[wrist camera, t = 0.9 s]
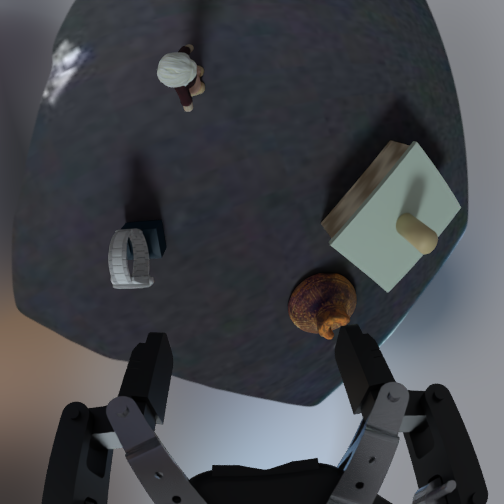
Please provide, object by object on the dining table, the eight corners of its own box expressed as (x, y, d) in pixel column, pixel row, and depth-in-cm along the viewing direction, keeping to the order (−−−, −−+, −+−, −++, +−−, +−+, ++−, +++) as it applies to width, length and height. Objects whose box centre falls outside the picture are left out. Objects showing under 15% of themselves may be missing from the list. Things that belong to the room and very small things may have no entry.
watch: (134, 261, 40) (109, 305, 30) (123, 211, 36) (90, 245, 26) (169, 259, 40) (151, 305, 30) (160, 207, 36) (135, 242, 27)
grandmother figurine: (172, 61, 27) (140, 37, 16) (202, 53, 27) (184, 22, 16) (185, 115, 31) (158, 115, 20) (215, 107, 31) (203, 102, 19)
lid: (413, 141, 28) (444, 149, 22) (457, 205, 32) (485, 222, 26) (328, 242, 33) (345, 268, 28) (385, 289, 37) (404, 316, 32)
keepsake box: (390, 140, 33) (413, 146, 28) (432, 193, 37) (454, 205, 32) (320, 223, 39) (333, 241, 33) (370, 265, 42) (386, 285, 37)
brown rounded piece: (337, 257, 42) (353, 283, 35) (362, 305, 47) (377, 332, 40) (273, 295, 44) (279, 325, 38) (306, 336, 49) (315, 366, 43)
